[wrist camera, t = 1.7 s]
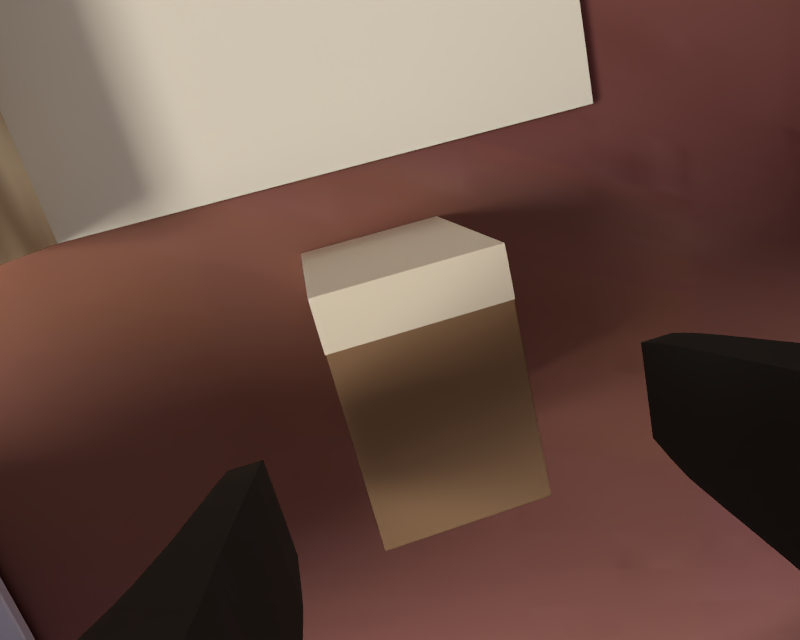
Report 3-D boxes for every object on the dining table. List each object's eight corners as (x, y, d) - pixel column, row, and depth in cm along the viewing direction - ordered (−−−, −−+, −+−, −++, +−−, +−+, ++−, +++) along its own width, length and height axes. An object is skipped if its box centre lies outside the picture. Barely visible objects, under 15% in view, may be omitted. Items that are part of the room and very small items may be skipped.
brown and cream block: (477, 400, 19) (552, 495, 14) (356, 438, 18) (384, 552, 13) (436, 216, 17) (504, 242, 12) (300, 253, 16) (307, 298, 11)
